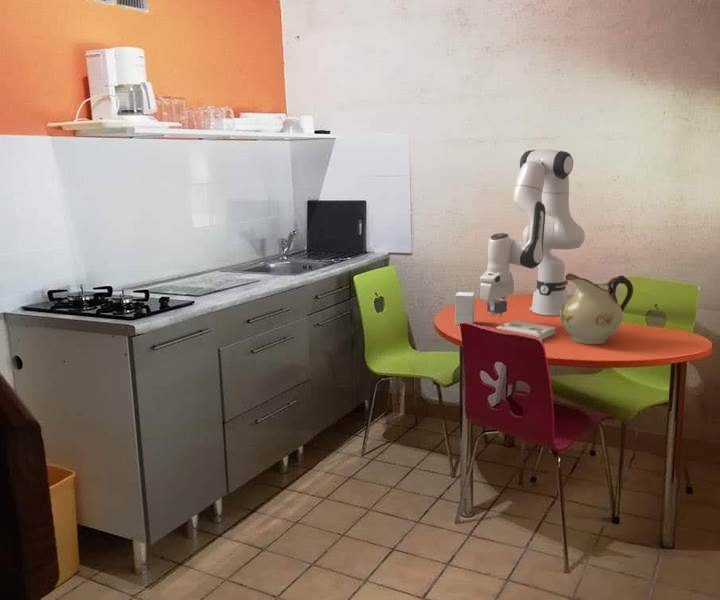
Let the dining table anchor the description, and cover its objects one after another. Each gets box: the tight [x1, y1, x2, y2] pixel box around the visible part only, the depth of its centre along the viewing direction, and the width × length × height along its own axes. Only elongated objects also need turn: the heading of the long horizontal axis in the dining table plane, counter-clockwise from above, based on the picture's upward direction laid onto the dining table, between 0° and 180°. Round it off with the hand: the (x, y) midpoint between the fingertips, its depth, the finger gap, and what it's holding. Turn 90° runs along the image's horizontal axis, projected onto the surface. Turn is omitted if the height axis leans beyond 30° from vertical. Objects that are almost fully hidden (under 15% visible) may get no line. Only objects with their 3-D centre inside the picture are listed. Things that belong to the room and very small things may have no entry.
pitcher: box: [559, 272, 634, 345], centre depth 265 cm, size 22×24×25 cm
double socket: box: [496, 319, 557, 341], centre depth 275 cm, size 14×18×4 cm
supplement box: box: [454, 291, 476, 326], centre depth 292 cm, size 7×7×13 cm
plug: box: [486, 299, 508, 318], centre depth 284 cm, size 5×6×6 cm
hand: (497, 308), depth 284 cm, fingers closed on plug, 5 cm apart
